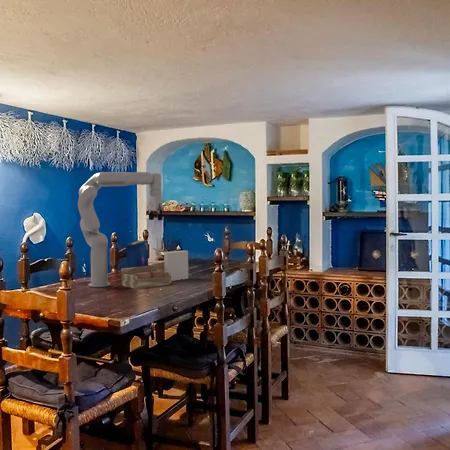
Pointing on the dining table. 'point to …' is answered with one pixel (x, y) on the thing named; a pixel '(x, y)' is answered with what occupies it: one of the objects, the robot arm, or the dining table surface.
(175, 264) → the tall sheet
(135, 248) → the book
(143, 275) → the offcut
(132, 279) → the rack
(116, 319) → the dining table surface
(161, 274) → the offcut
